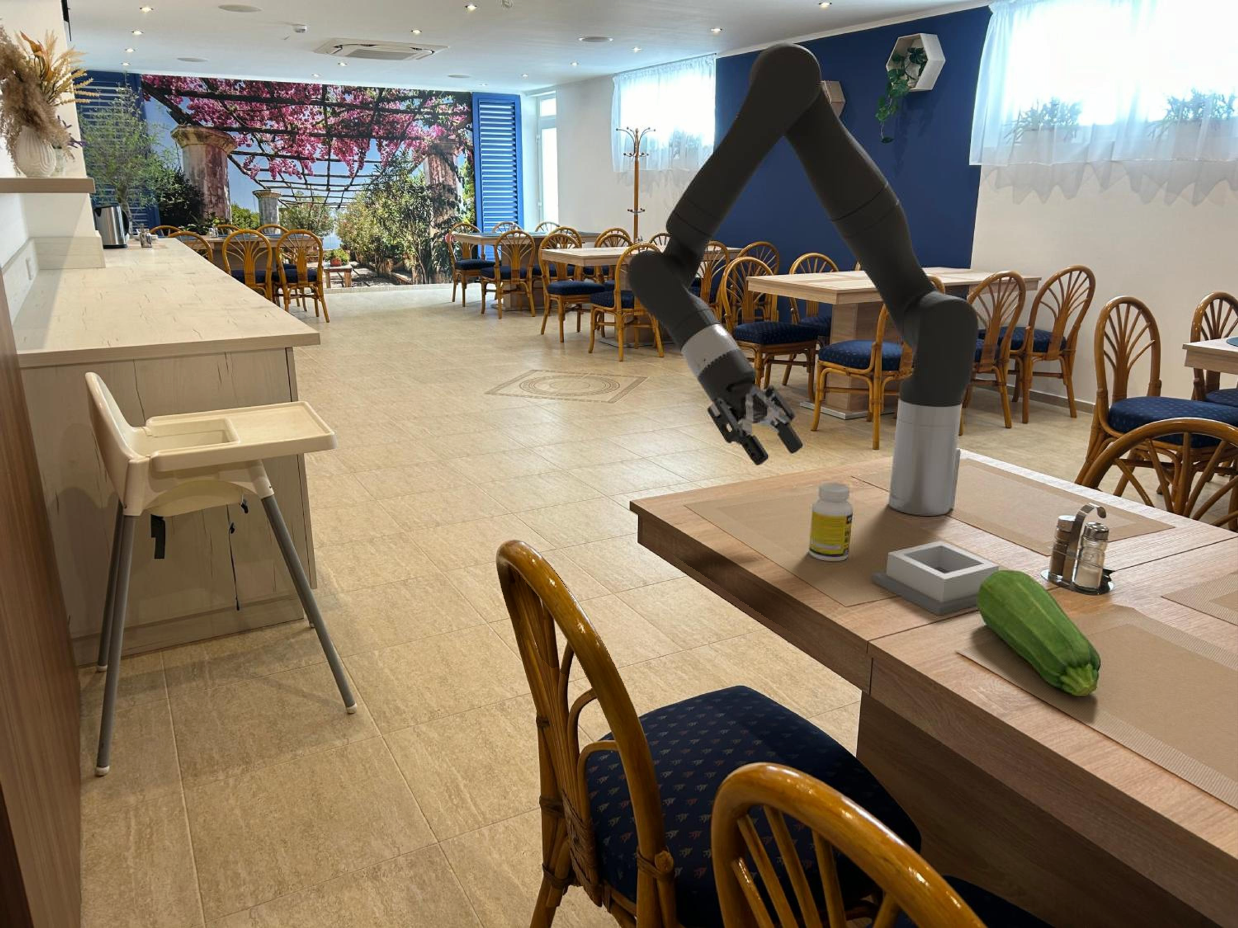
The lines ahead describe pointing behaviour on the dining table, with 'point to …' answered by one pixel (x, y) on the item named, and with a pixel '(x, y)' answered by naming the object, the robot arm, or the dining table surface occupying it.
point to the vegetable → (1039, 631)
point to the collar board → (936, 576)
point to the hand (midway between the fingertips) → (781, 455)
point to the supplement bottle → (831, 523)
